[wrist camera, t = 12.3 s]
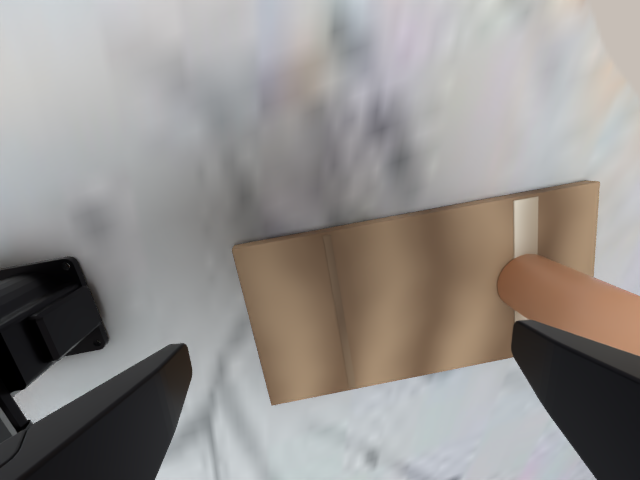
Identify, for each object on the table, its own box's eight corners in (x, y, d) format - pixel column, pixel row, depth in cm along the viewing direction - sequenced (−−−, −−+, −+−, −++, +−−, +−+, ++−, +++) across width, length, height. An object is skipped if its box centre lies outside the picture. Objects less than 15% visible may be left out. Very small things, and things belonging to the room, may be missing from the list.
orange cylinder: (510, 318, 23) (701, 461, 12) (488, 274, 22) (675, 389, 11) (561, 288, 22) (802, 408, 12) (540, 242, 21) (785, 329, 11)
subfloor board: (272, 395, 24) (271, 406, 23) (234, 245, 21) (231, 249, 20) (577, 334, 25) (590, 342, 24) (586, 180, 22) (601, 181, 21)
